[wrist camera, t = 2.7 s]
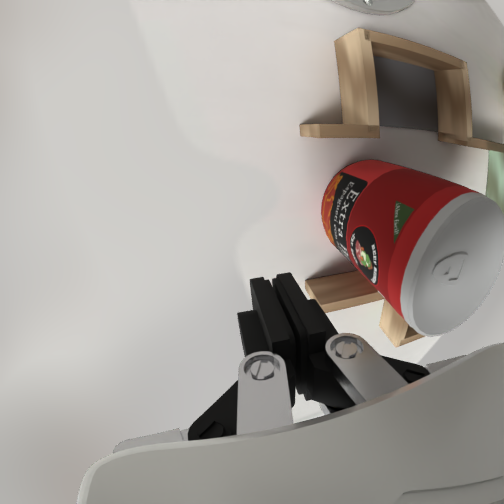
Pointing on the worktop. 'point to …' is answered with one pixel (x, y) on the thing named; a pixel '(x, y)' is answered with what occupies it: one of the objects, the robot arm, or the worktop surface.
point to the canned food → (416, 240)
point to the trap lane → (397, 115)
